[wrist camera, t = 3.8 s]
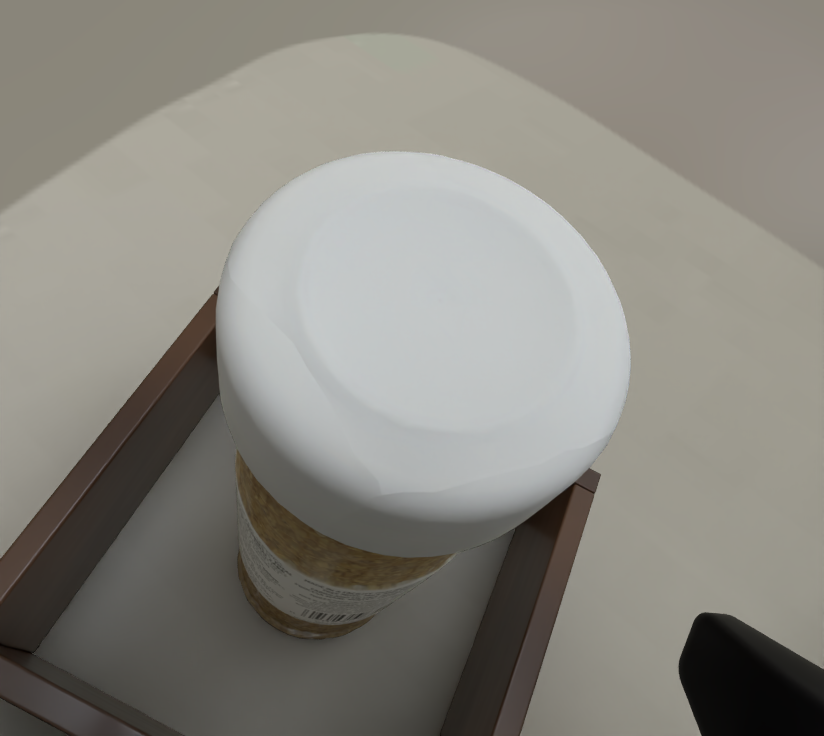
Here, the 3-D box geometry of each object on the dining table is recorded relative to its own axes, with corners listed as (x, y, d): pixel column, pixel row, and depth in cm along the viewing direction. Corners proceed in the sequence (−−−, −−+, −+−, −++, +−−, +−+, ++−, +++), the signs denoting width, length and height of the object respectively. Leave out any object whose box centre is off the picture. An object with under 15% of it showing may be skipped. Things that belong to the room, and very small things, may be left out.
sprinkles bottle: (399, 486, 20) (621, 173, 8) (393, 648, 18) (680, 538, 6) (246, 470, 19) (250, 97, 7) (220, 639, 17) (164, 491, 5)
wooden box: (408, 890, 15) (456, 945, 12) (-7, 666, 15) (-79, 655, 12) (541, 513, 20) (601, 474, 17) (229, 348, 21) (225, 276, 17)
